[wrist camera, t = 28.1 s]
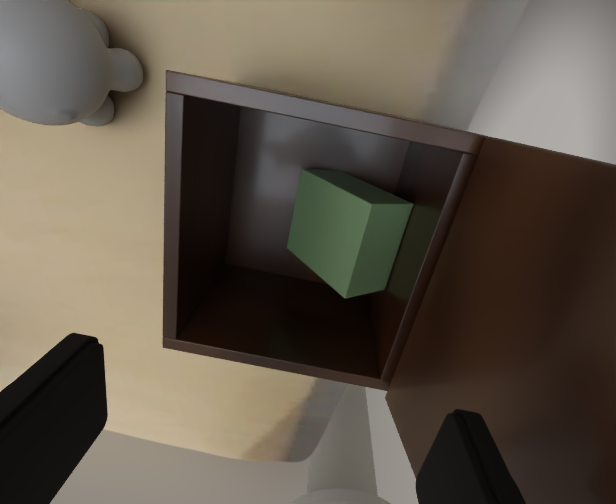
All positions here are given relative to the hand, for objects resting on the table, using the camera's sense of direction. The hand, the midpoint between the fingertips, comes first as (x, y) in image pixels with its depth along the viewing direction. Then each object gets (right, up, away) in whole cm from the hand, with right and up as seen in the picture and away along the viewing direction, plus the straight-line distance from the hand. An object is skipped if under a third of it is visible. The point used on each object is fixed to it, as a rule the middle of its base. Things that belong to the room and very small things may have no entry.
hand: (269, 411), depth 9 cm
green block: (+1, +7, +16) cm, 18 cm away
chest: (+1, +8, +18) cm, 20 cm away
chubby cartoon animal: (-15, +19, +14) cm, 28 cm away
